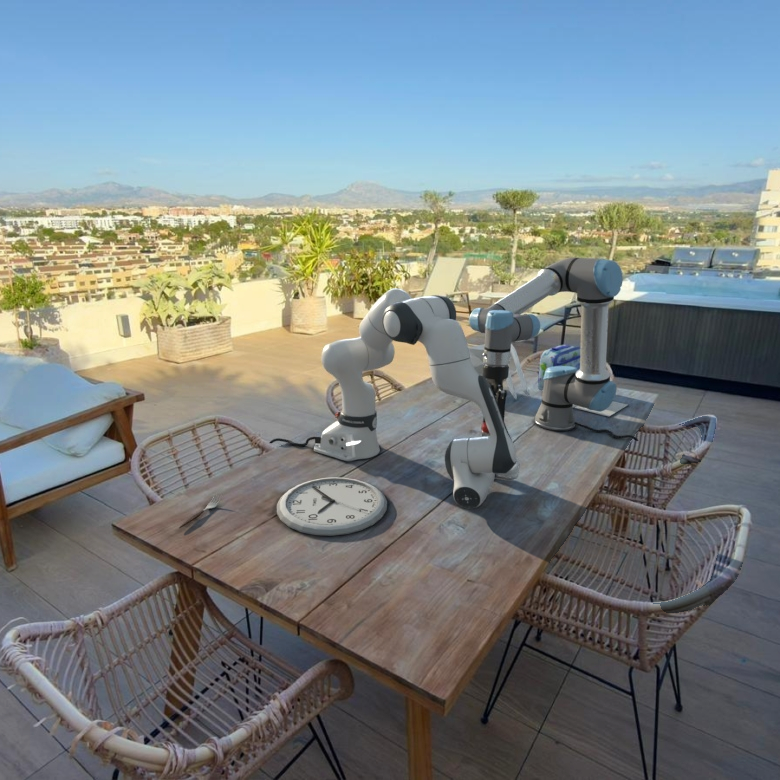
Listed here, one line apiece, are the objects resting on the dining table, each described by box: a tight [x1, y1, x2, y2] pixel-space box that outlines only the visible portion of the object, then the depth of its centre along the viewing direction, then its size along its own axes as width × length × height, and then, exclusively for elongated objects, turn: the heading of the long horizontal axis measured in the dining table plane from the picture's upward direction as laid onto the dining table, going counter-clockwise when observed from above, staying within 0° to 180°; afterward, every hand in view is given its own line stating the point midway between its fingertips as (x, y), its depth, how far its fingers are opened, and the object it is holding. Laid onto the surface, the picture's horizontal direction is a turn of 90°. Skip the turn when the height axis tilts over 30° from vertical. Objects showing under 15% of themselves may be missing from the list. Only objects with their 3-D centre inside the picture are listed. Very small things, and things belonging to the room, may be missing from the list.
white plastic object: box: [468, 343, 531, 400], centre depth 245 cm, size 37×45×31 cm
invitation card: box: [573, 400, 629, 418], centre depth 226 cm, size 21×1×15 cm
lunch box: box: [537, 344, 581, 391], centre depth 246 cm, size 26×11×21 cm, turn 134°
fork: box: [178, 493, 223, 529], centre depth 137 cm, size 3×16×2 cm, turn 160°
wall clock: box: [276, 476, 388, 537], centre depth 142 cm, size 30×2×30 cm
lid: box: [481, 422, 489, 433], centre depth 158 cm, size 6×6×2 cm
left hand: (489, 454), depth 162 cm, fingers closed on jar, 5 cm apart
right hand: (490, 437), depth 159 cm, fingers closed on lid, 5 cm apart
